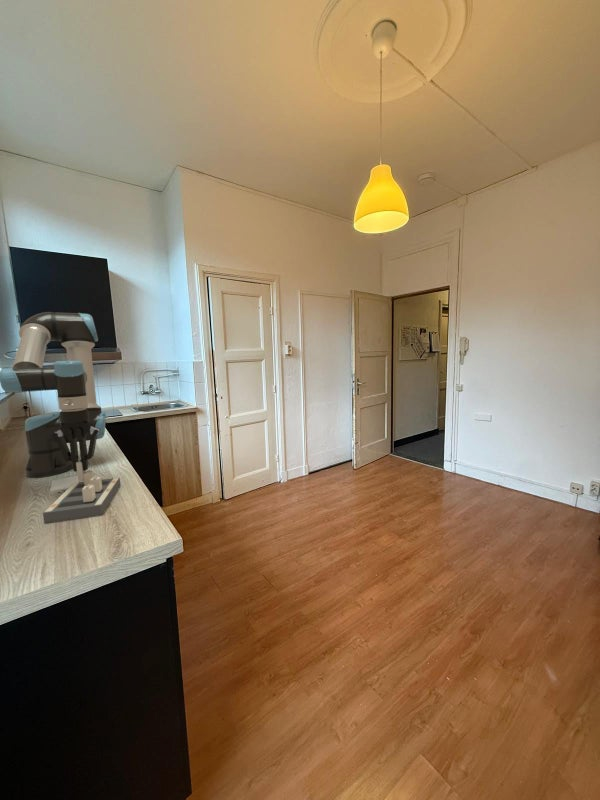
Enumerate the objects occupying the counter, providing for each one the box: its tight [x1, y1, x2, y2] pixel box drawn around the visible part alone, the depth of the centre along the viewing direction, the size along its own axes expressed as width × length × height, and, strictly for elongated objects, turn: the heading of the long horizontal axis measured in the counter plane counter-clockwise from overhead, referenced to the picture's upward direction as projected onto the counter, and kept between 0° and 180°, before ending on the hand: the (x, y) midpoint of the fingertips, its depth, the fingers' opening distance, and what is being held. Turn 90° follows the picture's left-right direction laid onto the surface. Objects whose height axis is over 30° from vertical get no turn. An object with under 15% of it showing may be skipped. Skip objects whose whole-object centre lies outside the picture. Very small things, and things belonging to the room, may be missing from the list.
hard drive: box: [49, 475, 78, 495], centre depth 113 cm, size 2×8×12 cm
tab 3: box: [90, 475, 103, 492], centre depth 99 cm, size 2×2×4 cm
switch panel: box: [42, 477, 121, 524], centre depth 99 cm, size 22×14×3 cm, turn 17°
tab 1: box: [83, 469, 96, 486], centre depth 105 cm, size 2×2×4 cm
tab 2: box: [82, 484, 96, 502], centre depth 93 cm, size 2×2×4 cm
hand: (82, 480), depth 104 cm, fingers closed
